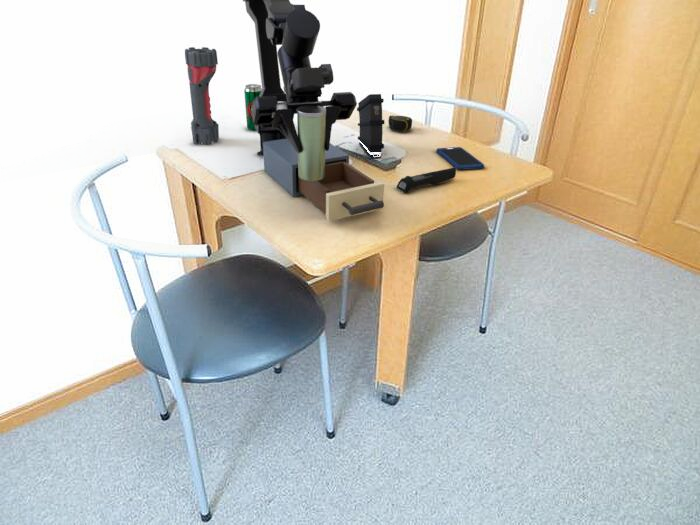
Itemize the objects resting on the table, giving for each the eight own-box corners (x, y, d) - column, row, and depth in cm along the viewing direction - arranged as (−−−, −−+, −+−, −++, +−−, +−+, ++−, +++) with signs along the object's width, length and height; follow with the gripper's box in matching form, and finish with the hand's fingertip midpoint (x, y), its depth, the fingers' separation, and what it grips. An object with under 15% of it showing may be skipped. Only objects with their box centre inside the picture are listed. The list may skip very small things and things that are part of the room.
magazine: (372, 157, 120) (368, 94, 118) (359, 161, 132) (354, 104, 130) (387, 156, 121) (383, 93, 118) (372, 160, 133) (368, 104, 131)
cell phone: (460, 149, 131) (460, 146, 131) (485, 168, 120) (485, 165, 120) (435, 150, 130) (435, 148, 129) (458, 170, 118) (458, 167, 118)
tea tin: (292, 175, 92) (290, 109, 85) (310, 168, 95) (310, 103, 88) (312, 183, 89) (312, 115, 82) (331, 175, 93) (332, 109, 86)
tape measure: (410, 127, 147) (411, 114, 145) (411, 134, 141) (413, 121, 139) (387, 126, 147) (389, 113, 145) (388, 133, 141) (389, 120, 139)
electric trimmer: (458, 182, 113) (460, 169, 111) (405, 194, 106) (406, 181, 104) (447, 177, 116) (450, 164, 114) (395, 188, 108) (396, 175, 107)
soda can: (256, 125, 143) (253, 82, 137) (268, 128, 141) (266, 85, 134) (243, 129, 140) (239, 85, 133) (256, 132, 137) (253, 89, 131)
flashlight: (228, 136, 134) (219, 46, 121) (221, 146, 127) (210, 52, 115) (200, 135, 134) (188, 45, 121) (191, 144, 127) (178, 50, 115)
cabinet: (348, 185, 109) (349, 155, 105) (293, 197, 103) (292, 165, 99) (315, 162, 120) (315, 134, 116) (264, 171, 114) (262, 142, 110)
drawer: (394, 216, 95) (396, 191, 92) (339, 230, 89) (340, 204, 86) (346, 182, 108) (346, 159, 105) (295, 192, 102) (294, 168, 100)
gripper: (250, 47, 80) (267, 133, 78) (355, 45, 86) (374, 125, 83) (245, 85, 91) (260, 162, 88) (340, 81, 96) (356, 154, 94)
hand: (313, 150), depth 88 cm, fingers closed on tea tin, 5 cm apart
